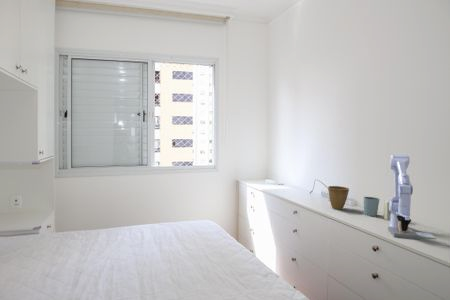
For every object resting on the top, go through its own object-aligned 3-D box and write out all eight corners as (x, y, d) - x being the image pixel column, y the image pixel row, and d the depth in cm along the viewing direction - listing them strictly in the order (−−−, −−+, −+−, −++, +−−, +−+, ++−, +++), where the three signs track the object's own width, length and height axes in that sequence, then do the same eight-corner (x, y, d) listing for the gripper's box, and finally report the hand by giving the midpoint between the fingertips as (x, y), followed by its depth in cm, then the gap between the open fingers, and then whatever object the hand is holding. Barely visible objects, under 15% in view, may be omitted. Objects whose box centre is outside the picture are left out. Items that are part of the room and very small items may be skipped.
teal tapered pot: (359, 213, 227) (360, 197, 226) (369, 212, 231) (370, 196, 231) (372, 217, 218) (372, 199, 217) (381, 216, 222) (382, 198, 222)
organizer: (388, 229, 188) (388, 226, 188) (410, 232, 185) (410, 228, 185) (394, 236, 174) (394, 233, 174) (418, 239, 171) (419, 235, 171)
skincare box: (392, 218, 216) (393, 200, 215) (395, 220, 211) (396, 202, 211) (383, 218, 215) (384, 200, 215) (386, 220, 211) (387, 201, 210)
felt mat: (412, 232, 184) (412, 231, 184) (429, 234, 182) (429, 233, 182) (417, 237, 176) (417, 235, 176) (435, 238, 173) (435, 237, 173)
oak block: (397, 232, 182) (398, 220, 182) (405, 233, 181) (406, 221, 181) (399, 235, 178) (400, 222, 178) (407, 235, 177) (408, 223, 177)
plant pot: (323, 208, 242) (324, 186, 241) (333, 205, 252) (334, 185, 251) (341, 211, 231) (342, 189, 230) (351, 209, 241) (352, 188, 240)
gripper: (393, 202, 187) (391, 225, 188) (400, 207, 173) (398, 232, 174) (406, 203, 185) (405, 226, 186) (414, 208, 171) (413, 234, 172)
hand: (402, 229), depth 180 cm, fingers closed on oak block, 4 cm apart
